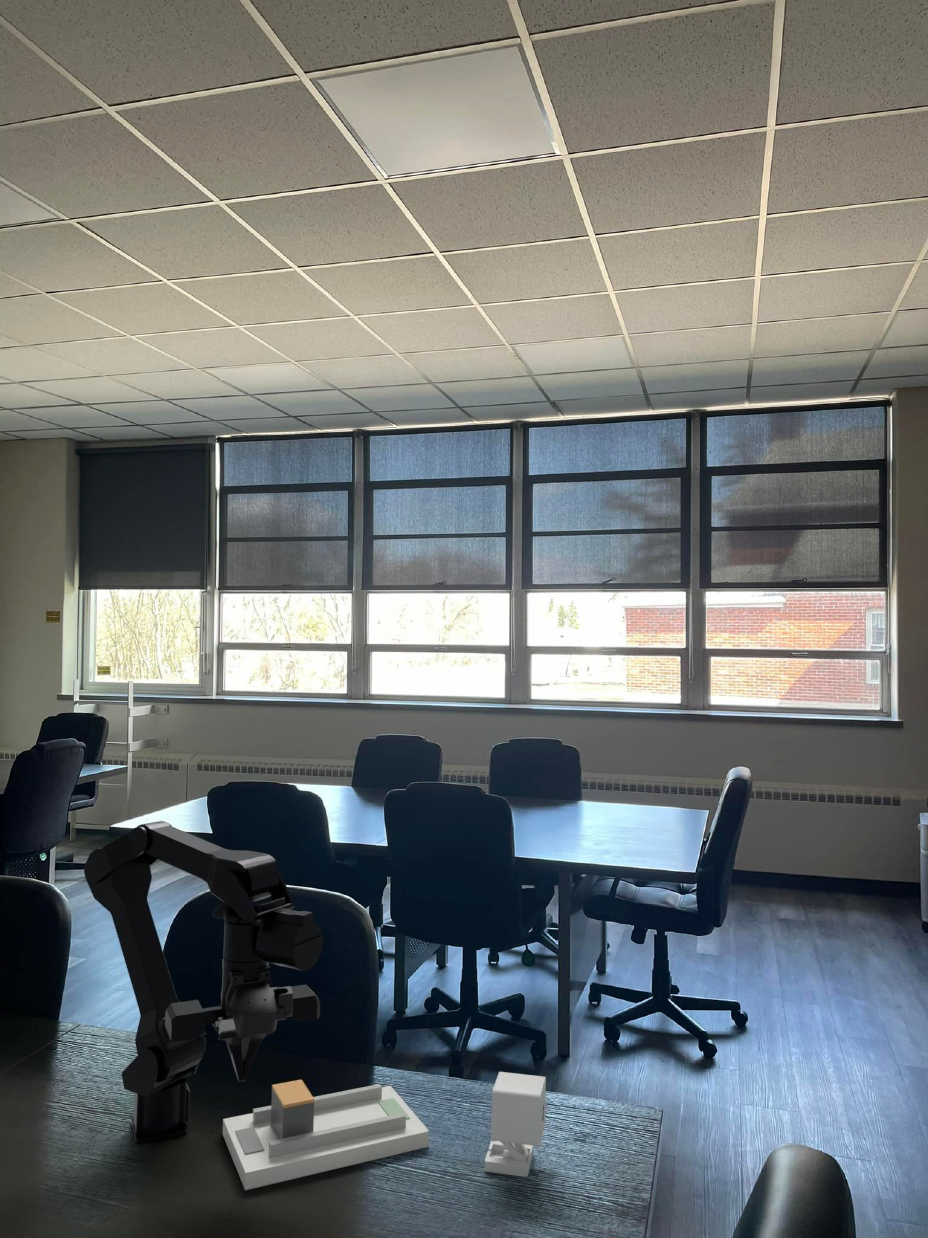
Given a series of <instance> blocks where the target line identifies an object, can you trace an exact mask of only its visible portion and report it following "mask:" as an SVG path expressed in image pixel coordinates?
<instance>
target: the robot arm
mask: <svg viewBox="0 0 928 1238" xmlns="http://www.w3.org/2000/svg"><path fill="white" fill-rule="evenodd" d="M158 861H161V862H163V863H165V864H167V865H169V866H172V867H174V868H176V869H178V870H180V871H183V872H185V873H187V874H190V875H192V876H193V877H196V878H198V879H200V880H202V881H203V882H205V883H206V885H207V886H208V889H209V891H210V893H211V894H212V895H214V896H215V897H216V898H217V899H219V900H220V901H222V903H221V904H220V905H219V906H218V907H216V908H215V909H214V910H213V911H211V915H212V917H214V918H217V919H222V920H224V929H223V930H224V931H223V932H224V933H223V934H224V935H223V955H222V958H223V959H221V963H222V965H221V968H222V980H221V981H222V982H221V983H222V984H221V985H222V986H221V991H220V1000H221V1003H220V1005H217V1006H213V1007H211V1006H210V1007H205V1008H203V1007H202V1005H201V1003H200V1000H198V999H193V1000H187V1001H180V1000H179V998H178V995H177V993H176V990H175V987H174V983H173V980H172V977H171V973H170V970H169V968H168V964H167V960H166V958H165V953H164V950H163V947H162V944H161V940H160V938H159V934H158V931H157V928H156V924H155V921H154V918H153V915H152V912H151V911H152V910H151V909H150V905H149V900H148V896H149V893H150V892H149V891H150V888H151V885H152V884H151V883H152V880H153V874H152V869H151V868H152V866H153V865H154V864H156V863H157V862H158ZM83 874H84V877H85V880H86V883H87V885H88V888H89V890H90V892H91V895H92V896H93V899H94V900H95V901H97V902H98V903H99V904H100V905H101V906H102V907H104V909H105V910H107V912H108V913H110V915H111V919H112V921H113V925H114V928H115V932H116V937H117V938H118V943H119V947H120V949H121V953H122V955H123V959H124V963H125V966H126V970H127V972H128V973H127V974H128V977H129V980H130V983H131V985H132V987H131V988H132V990H133V993H134V997H135V1000H136V1004H137V1006H138V1011H139V1020H138V1021H139V1022H138V1025H137V1030H136V1034H135V1039H134V1044H135V1048H136V1056H135V1058H134V1059H133V1060H132V1061H131V1062H130V1063H129V1064H128V1065H127V1066H126V1068H124V1070H123V1071H122V1072H121V1079H122V1083H123V1088H124V1090H126V1091H129V1092H131V1093H133V1094H134V1104H133V1105H134V1106H133V1107H134V1109H133V1117H132V1118H131V1122H130V1123H131V1126H132V1130H133V1135H134V1140H135V1143H136V1144H142V1143H147V1142H152V1141H157V1140H161V1139H168V1138H171V1137H177V1136H182V1135H185V1134H187V1133H188V1125H187V1123H189V1121H190V1108H191V1102H190V1101H191V1091H190V1088H189V1085H188V1084H187V1079H186V1078H188V1077H190V1076H191V1075H195V1074H196V1073H197V1070H198V1067H199V1065H200V1062H201V1060H202V1059H203V1057H204V1053H205V1051H206V1048H207V1047H206V1046H207V1045H206V1037H205V1035H207V1031H206V1026H207V1025H208V1026H209V1025H210V1027H211V1029H212V1031H213V1032H214V1034H215V1037H216V1038H217V1040H219V1041H225V1043H226V1046H227V1049H228V1051H229V1056H230V1059H231V1062H232V1066H233V1068H234V1069H233V1070H234V1072H235V1075H236V1079H237V1081H238V1082H239V1083H240V1082H245V1081H246V1079H247V1077H248V1074H249V1072H250V1069H251V1067H252V1064H253V1061H254V1058H255V1056H256V1053H257V1051H258V1050H259V1047H260V1044H261V1043H262V1041H263V1039H265V1037H266V1036H267V1035H270V1034H273V1033H274V1032H275V1031H276V1029H277V1023H278V1021H285V1020H287V1019H288V1017H292V1019H293V1020H294V1021H295V1022H297V1023H303V1022H308V1021H315V1020H318V1019H320V1017H321V1002H320V998H319V997H318V996H317V994H315V992H314V991H313V990H312V989H311V988H310V987H309V986H308V985H307V984H300V985H299V984H298V985H294V986H290V985H288V986H283V987H281V986H280V987H279V986H276V987H273V983H272V981H271V968H270V965H269V964H271V965H273V964H274V965H277V966H280V967H285V968H290V969H294V970H298V971H302V972H307V971H309V970H311V968H313V967H314V966H315V965H316V963H317V962H318V960H319V958H320V957H321V954H322V951H323V946H324V936H323V934H322V930H321V928H320V926H319V925H318V924H317V923H316V922H314V912H313V911H306V910H303V911H299V910H294V908H295V907H296V903H295V901H294V899H293V896H292V893H291V891H289V888H288V887H287V884H286V882H285V880H284V878H283V876H282V875H281V872H280V870H279V868H278V865H277V860H276V859H275V858H274V857H273V856H272V855H270V854H268V853H266V852H264V853H263V852H259V851H254V850H253V851H252V850H243V849H242V850H239V849H238V850H235V849H234V850H233V849H228V848H224V847H221V846H219V845H217V844H214V843H212V842H209V841H207V840H205V839H203V838H201V837H199V836H195V835H193V834H190V833H189V832H186V831H184V830H182V829H179V828H177V827H175V826H173V825H172V824H171V823H170V822H167V821H163V820H160V821H154V822H148V823H147V822H146V823H142V824H139V825H137V826H136V827H134V828H132V829H131V830H130V831H129V832H127V833H126V834H125V835H123V836H121V837H119V838H117V839H114V840H113V841H111V842H110V843H107V844H106V845H104V846H102V847H99V848H95V849H93V850H92V851H91V852H90V853H89V855H88V858H87V860H86V861H85V864H84V866H83ZM270 897H271V899H268V898H270ZM264 899H268V900H265V901H262V900H264ZM260 900H261V901H262V902H259V901H260ZM254 902H258V903H255V904H252V903H254Z"/></svg>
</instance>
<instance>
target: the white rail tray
mask: <svg viewBox="0 0 928 1238" xmlns="http://www.w3.org/2000/svg"><path fill="white" fill-rule="evenodd" d="M313 1098H314V1124H313V1132H311V1133H307V1134H302V1135H297V1136H293V1137H288V1138H284V1139H279V1138H278V1136H277V1134H276V1132H275V1130H274V1128H273V1126H272V1124H271V1105H267V1106H262V1107H256V1108H252V1113H247V1114H246V1113H245V1114H242V1115H237V1116H231V1117H227V1118H223V1119H222V1136H223V1139H224V1141H225V1143H226V1146H227V1149H228V1152H229V1154H230V1156H231V1159H232V1162H233V1164H234V1166H235V1168H236V1171H237V1174H238V1177H239V1178H240V1181H241V1183H242V1186H243V1189H244V1191H249V1190H252V1189H257V1188H261V1187H265V1186H269V1185H274V1184H277V1183H282V1182H286V1181H290V1180H295V1179H299V1178H302V1177H303V1178H304V1177H307V1176H312V1175H315V1174H321V1173H324V1172H328V1171H332V1170H336V1169H340V1168H344V1167H349V1166H353V1165H358V1164H363V1163H365V1162H371V1161H375V1160H379V1159H383V1158H387V1157H391V1156H395V1155H400V1154H405V1153H408V1152H411V1151H416V1150H417V1151H418V1150H421V1149H426V1148H429V1146H430V1131H429V1130H430V1129H428V1128H427V1127H426V1125H425V1124H424V1123H423V1121H421V1120H420V1119H419V1117H418V1116H417V1114H415V1112H414V1111H413V1110H412V1109H411V1108H410V1106H408V1104H407V1103H406V1102H405V1101H404V1100H403V1098H402V1097H401V1096H400V1095H399V1094H398V1093H397V1092H396V1090H395V1089H394V1088H393V1087H392V1086H391V1085H387V1086H382V1085H381V1084H380V1083H377V1084H373V1085H368V1086H364V1087H358V1088H357V1087H356V1088H352V1089H347V1090H343V1091H338V1092H333V1093H328V1094H327V1093H326V1094H322V1095H317V1096H313Z"/></svg>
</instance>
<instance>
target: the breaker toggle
mask: <svg viewBox="0 0 928 1238" xmlns="http://www.w3.org/2000/svg"><path fill="white" fill-rule="evenodd" d="M313 1097H314V1096H313V1095H312V1094H311V1092H310V1090H309V1089H308V1087H307V1085H306V1084H305V1083H304V1081H303V1080H302V1079H297V1080H291V1081H287V1082H280V1083H275V1084H271V1103H270V1104H271V1105H270V1106H271V1124H272V1126H273V1128H274V1130H275V1132H276V1134H277V1136H278V1138H279V1139H284V1138H288V1137H293V1136H297V1135H302V1134H307V1133H311V1132H313V1124H314V1098H313Z"/></svg>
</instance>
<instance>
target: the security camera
mask: <svg viewBox="0 0 928 1238" xmlns="http://www.w3.org/2000/svg"><path fill="white" fill-rule="evenodd" d="M546 1079H547V1077H546V1076H541V1075H531V1074H523V1073H515V1072H506V1071H505V1072H504V1071H498V1075H497V1077H496V1080H495V1082H494V1086H493V1088H492V1091H491V1119H490V1120H491V1122H490V1124H491V1125H490V1126H491V1129H490V1144H489V1146H488V1150H487V1153H486V1155H485V1159H484V1171H485V1172H487V1173H492V1174H493V1173H494V1174H501V1175H508V1176H509V1175H510V1176H519V1177H524V1178H528V1176H529V1172H530V1169H531V1165H532V1160H533V1157H534V1147H537V1148H541V1146H542V1141H543V1136H544V1132H545V1125H546V1098H547V1097H546V1085H547V1084H546V1083H547V1081H546Z"/></svg>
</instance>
